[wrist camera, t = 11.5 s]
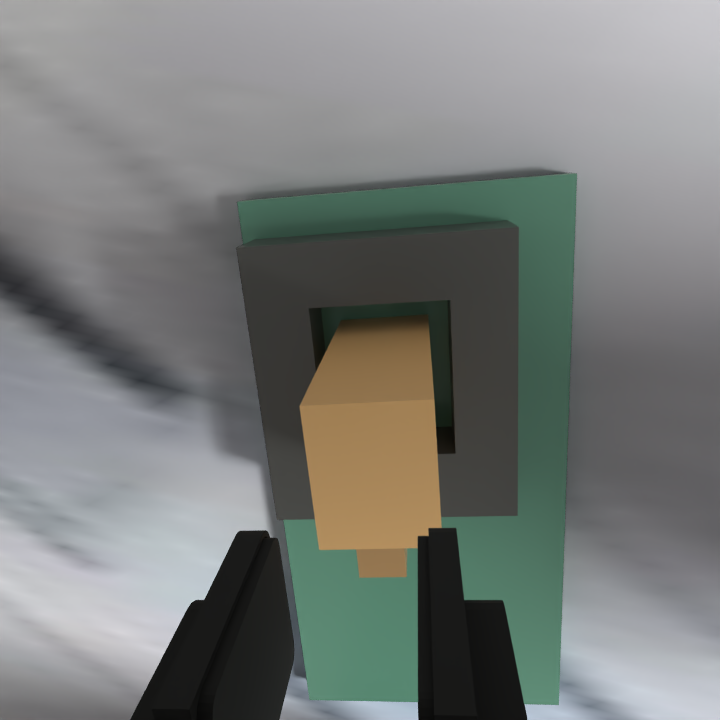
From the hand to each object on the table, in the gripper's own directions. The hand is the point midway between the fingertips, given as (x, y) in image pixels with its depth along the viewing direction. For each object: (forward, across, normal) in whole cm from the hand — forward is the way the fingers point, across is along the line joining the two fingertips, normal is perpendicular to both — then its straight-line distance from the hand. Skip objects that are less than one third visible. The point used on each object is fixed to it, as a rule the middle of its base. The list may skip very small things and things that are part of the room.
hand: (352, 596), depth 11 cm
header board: (+15, -1, +6) cm, 16 cm away
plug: (+14, 0, 0) cm, 14 cm away
